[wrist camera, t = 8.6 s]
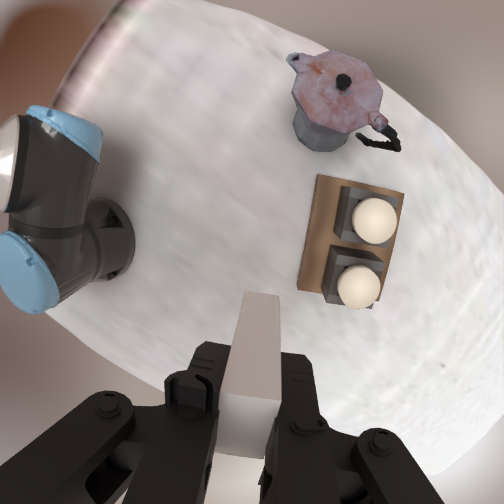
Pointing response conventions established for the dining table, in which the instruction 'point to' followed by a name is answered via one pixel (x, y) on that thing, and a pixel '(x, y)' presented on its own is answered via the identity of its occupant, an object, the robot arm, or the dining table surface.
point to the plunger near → (374, 220)
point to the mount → (342, 236)
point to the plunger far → (358, 286)
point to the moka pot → (337, 101)
